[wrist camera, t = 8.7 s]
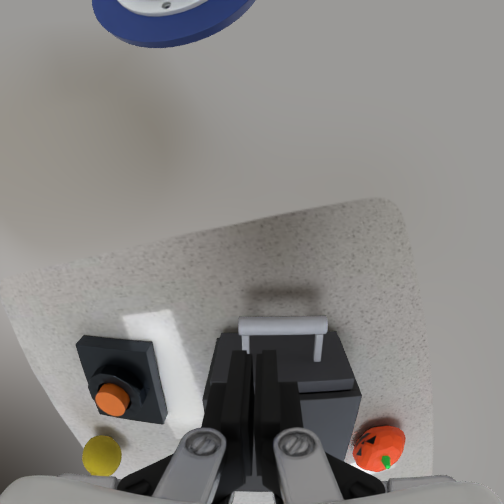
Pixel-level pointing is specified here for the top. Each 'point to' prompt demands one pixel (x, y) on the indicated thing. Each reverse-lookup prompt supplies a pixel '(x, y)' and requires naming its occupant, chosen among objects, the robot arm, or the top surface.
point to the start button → (112, 399)
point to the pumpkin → (379, 448)
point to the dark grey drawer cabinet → (314, 421)
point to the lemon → (101, 456)
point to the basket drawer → (290, 351)
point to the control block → (125, 375)
